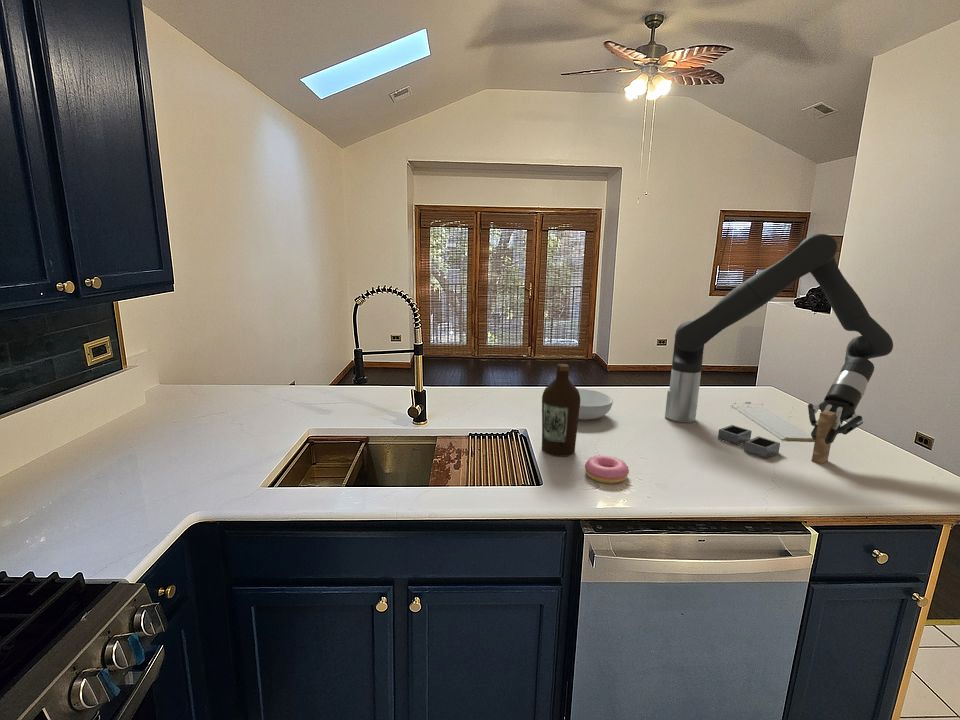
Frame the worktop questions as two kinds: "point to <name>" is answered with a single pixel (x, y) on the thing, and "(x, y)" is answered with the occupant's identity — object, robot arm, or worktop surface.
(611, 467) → the doughnut
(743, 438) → the endcap
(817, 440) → the slat
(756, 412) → the baseboard
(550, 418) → the olive oil
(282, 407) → the worktop surface
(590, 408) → the serving bowl
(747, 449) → the endcap
